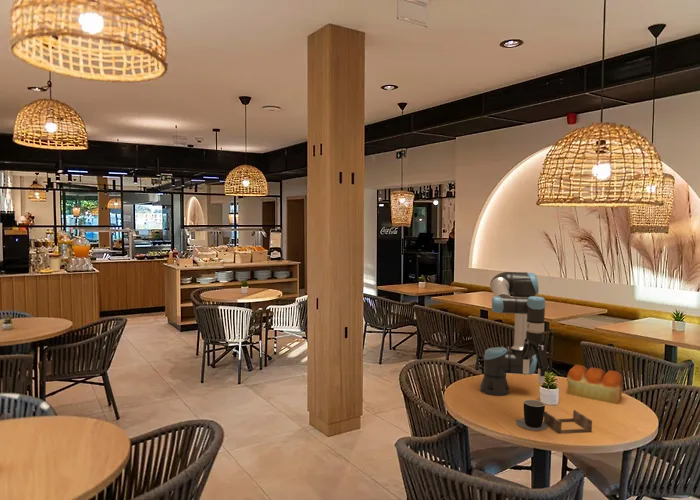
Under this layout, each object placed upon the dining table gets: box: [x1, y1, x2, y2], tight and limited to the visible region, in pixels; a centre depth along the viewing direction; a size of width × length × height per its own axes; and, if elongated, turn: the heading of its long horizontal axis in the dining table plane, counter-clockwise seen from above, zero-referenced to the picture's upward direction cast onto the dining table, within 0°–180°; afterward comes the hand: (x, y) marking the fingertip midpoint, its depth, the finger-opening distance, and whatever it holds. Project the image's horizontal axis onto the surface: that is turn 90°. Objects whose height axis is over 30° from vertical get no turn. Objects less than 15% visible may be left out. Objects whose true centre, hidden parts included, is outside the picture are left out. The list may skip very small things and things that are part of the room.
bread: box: [566, 364, 624, 405], centre depth 274 cm, size 25×12×15 cm, turn 53°
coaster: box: [515, 417, 548, 432], centre depth 234 cm, size 13×13×1 cm
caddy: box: [543, 409, 593, 434], centre depth 232 cm, size 13×16×5 cm
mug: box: [523, 399, 546, 428], centre depth 234 cm, size 12×9×10 cm
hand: (533, 378), depth 233 cm, fingers open, 13 cm apart
